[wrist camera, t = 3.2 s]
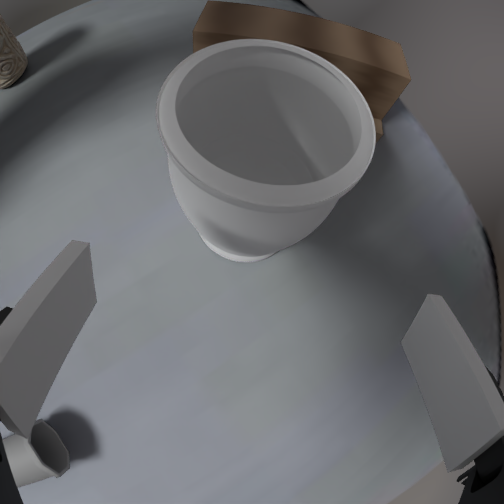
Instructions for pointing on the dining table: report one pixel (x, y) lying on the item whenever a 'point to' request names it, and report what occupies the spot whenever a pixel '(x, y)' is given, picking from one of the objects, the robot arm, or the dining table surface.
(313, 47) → the wooden block
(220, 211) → the jar
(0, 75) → the carving
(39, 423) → the tube
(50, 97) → the dining table surface
